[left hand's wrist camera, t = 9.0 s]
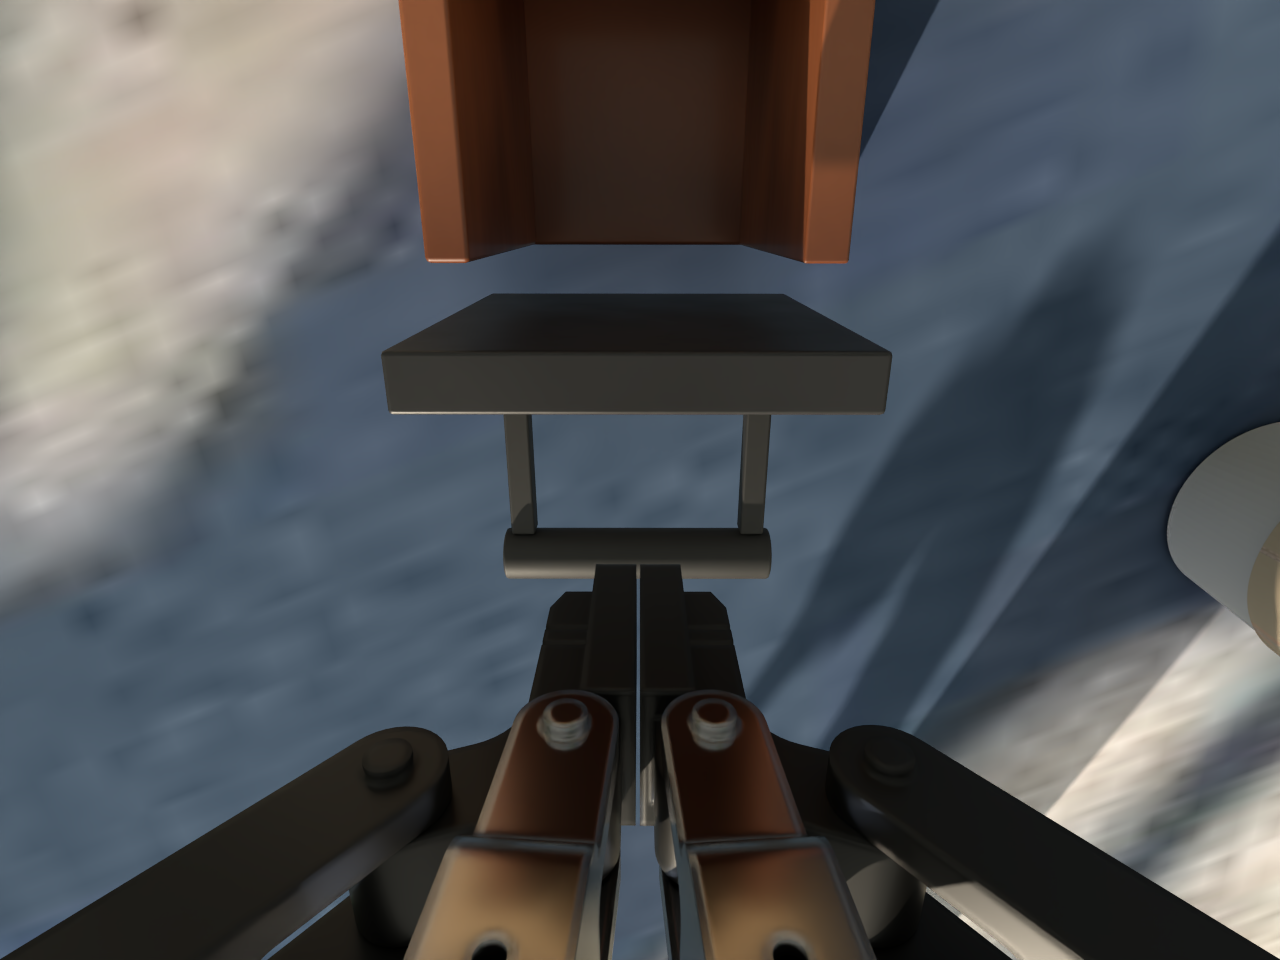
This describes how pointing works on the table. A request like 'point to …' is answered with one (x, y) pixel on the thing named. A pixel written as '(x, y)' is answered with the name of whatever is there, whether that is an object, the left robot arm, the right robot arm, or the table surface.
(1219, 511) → the coffee cup
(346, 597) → the table surface
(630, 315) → the drawer
